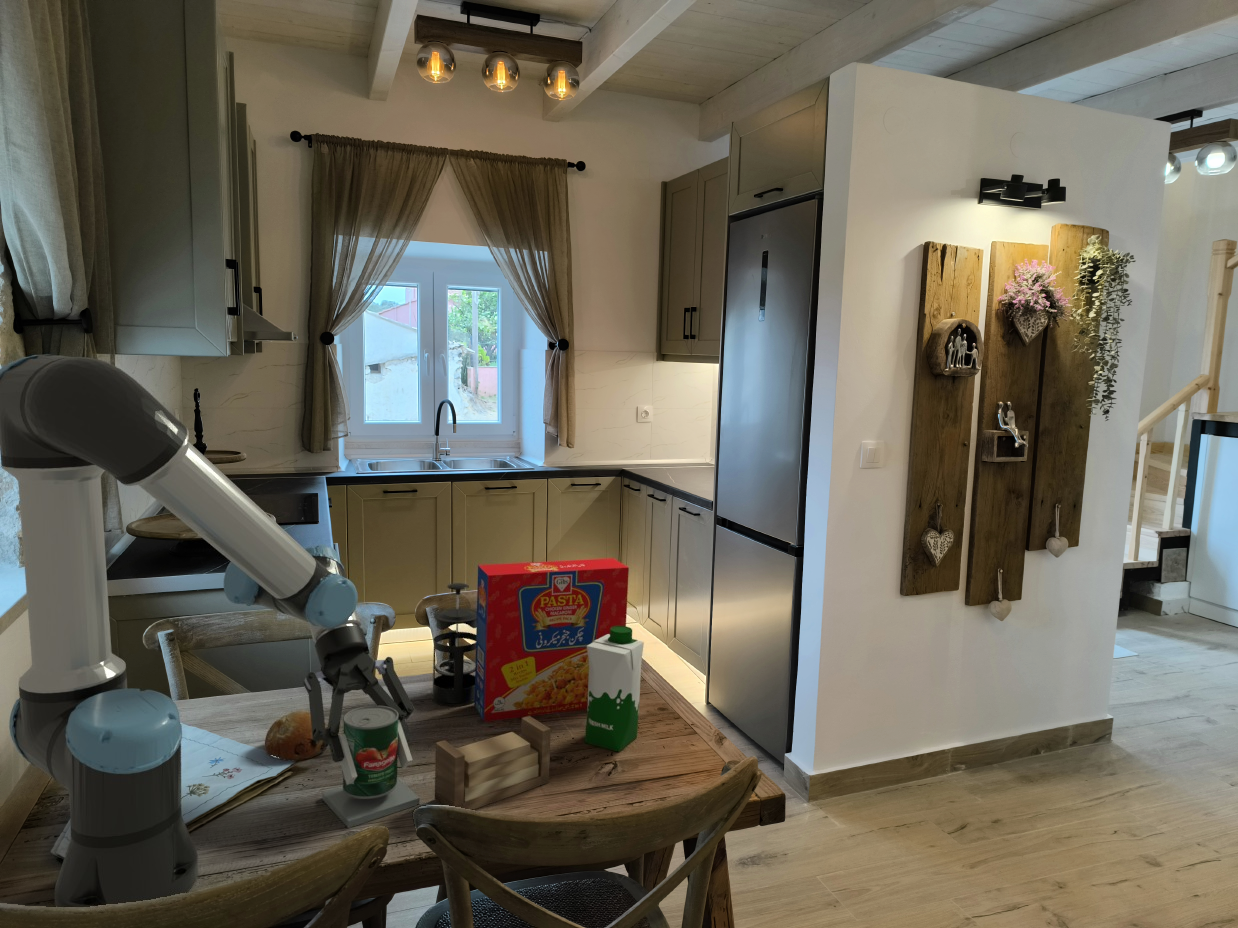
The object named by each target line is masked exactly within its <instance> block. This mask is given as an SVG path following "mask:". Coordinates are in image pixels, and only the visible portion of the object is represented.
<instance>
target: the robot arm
mask: <svg viewBox="0 0 1238 928" xmlns="http://www.w3.org/2000/svg"><path fill="white" fill-rule="evenodd" d="M189 431H190V430H189V429H188V428H187V426H186V425H184V424H183V423H182V422H181V421H180V420H179V419H178V418H177V417H176V416H175V415H173V414H172V412H171V411H170V410H169V409H168V408H166V407H165V406H164V405H163V404H162V403H161V402H160V401H159V400H158V399H157V398H156V397H155V396H154V395H153V394H151V393H150V392H149V391H148V390H147V389H146V388H145V387H144V386H143V385H141V384H140V383H139V382H138V381H137V380H136V379H134V378H133V377H132V376H130V375H129V373H126V372H125V371H124V370H122V369H121V368H119V367H118V366H116V365H113V364H111V363H109V362H107V361H105V360H102V359H97V358H94V357H86V356H85V357H84V356H83V357H82V356H74V357H73V356H66V355H57V354H48V353H46V354H34V355H31V356H25V357H20V358H18V359H15V360H13V361H11V362H9V363H7V364H5V365H3V367H1V368H0V465H1V469H2V470H4V471H5V472H7V473H8V474H9V475H11V476H12V477H13V478H15V479H16V480H17V483H18V497H19V500H18V501H19V511H20V525H21V539H22V549H23V562H24V563H23V564H24V565H23V566H24V575H25V590H26V602H27V603H26V604H27V615H28V616H27V617H28V626H29V627H28V629H29V639H30V643H29V644H30V653H31V654H30V656H31V666H30V667H29V668H28V669H27V670H26V671H25V672H24V673H23V674H22V675H21V676H20V677H19V680H18V694H19V698H18V699H16V701H15V702H14V704H13V706H12V709H11V712H10V716H9V721H8V722H9V723H8V724H9V725H8V727H9V733H10V737H11V740H12V742H13V744H14V746H15V748H16V750H17V751H18V753H19V754H21V756H22V757H23V758H24V759H25V760H26V761H27V762H29V763H30V764H32V765H33V766H34V767H37V768H39V769H40V770H41V771H42V772H43V773H45V774H46V775H48V776H49V777H50V778H52V779H53V780H54V781H56V782H57V783H58V784H60V785H61V786H62V787H63V788H64V789H66V790H67V791H68V796H69V818H70V819H69V821H70V841H69V845H68V847H67V851H66V853H65V856H64V858H63V862H62V864H61V868H60V871H59V872H58V876H57V880H56V882H55V887H54V907H55V906H57V907H90V906H98V905H106V904H118V903H126V902H136V901H143V900H151V899H156V898H160V897H167V896H171V895H175V894H180V893H185V892H187V893H188V892H189V891H190V890H191V888H193V886H194V884H195V883H196V880H198V879H197V878H198V875H199V855H198V852H197V848H196V846H195V843H194V841H193V838H192V836H191V835H190V832H189V830H188V827H187V825H186V823H185V820H184V818H183V816H182V813H183V812H182V738H183V728H182V727H183V726H182V724H181V720H180V711H179V708H178V706H177V704H176V703H175V701H173V699H172V698H171V697H169V696H168V695H166V694H164V693H162V692H159V691H156V690H152V689H145V690H141V689H140V688H128V679H127V678H128V675H127V664H126V662H125V660H123V659H122V658H120V657H119V656H117V655H116V654H114V653H113V652H112V643H111V639H112V638H111V626H110V609H109V608H110V607H109V593H108V577H107V560H106V545H105V544H106V543H105V541H106V540H105V530H104V529H105V528H104V512H103V511H104V510H103V496H102V493H103V492H102V478H101V477H102V475H103V473H105V472H106V473H108V474H110V475H111V476H113V478H115V479H116V480H117V481H118V482H119V483H121V484H122V485H124V486H127V487H128V486H129V487H131V486H134V487H135V486H138V487H140V488H141V489H142V490H144V491H145V492H146V493H147V494H149V495H150V496H151V497H152V498H153V499H155V500H156V501H157V502H158V503H160V504H161V505H162V506H163V507H165V509H167V511H169V512H171V513H172V514H173V515H174V516H176V518H177V519H179V520H180V521H181V522H182V523H184V524H185V525H186V526H187V527H188V528H190V529H191V530H192V531H193V532H195V533H196V535H198V536H200V537H201V538H202V539H203V540H204V541H206V542H207V543H208V544H210V546H212V547H213V548H214V549H215V550H217V551H218V552H219V553H220V554H221V555H222V556H224V557H225V558H226V559H227V560H229V561H230V562H228V563H229V564H228V565H227V567H226V569H225V571H224V576H223V577H224V578H223V591H224V594H225V596H226V598H227V600H228V601H229V602H230V603H232V604H236V605H245V606H247V607H251V606H260V607H265V608H268V609H270V610H273V611H276V612H279V613H280V614H284V615H288V616H291V617H293V618H296V619H298V620H301V621H303V622H306V623H308V627H309V630H310V633H311V637H312V640H313V642H314V643H315V644H314V647H315V651H316V655H317V659H318V662H319V665H320V671H317V672H308V674H307V675H306V676H305V679H304V681H303V686H304V688H305V690H306V692H307V695H308V702H309V712H310V715H311V726H312V737H313V740H314V741H316V742H318V741H320V740H321V741H325V743H326V744H327V745H328V747H329V750H330V754H331V757H332V761H333V762H334V763H339V764H340V767H341V770H342V774H343V773H344V777H345V780H346V784H347V785H348V784H351V783H353V781H354V780H355V779H356V777H357V773H356V770H355V766H354V763H353V759H352V756H351V753H350V749H349V746H348V742H347V739H346V735H345V734H344V733H342V734H339V733H340V728H341V720H342V713H343V705H344V698H345V694H346V693H349V692H351V691H360V690H361V691H362V692H363V693H364V694H365V695H368V697H370V699H371V700H372V701H373V702H374V703H375V705H376V706H386V707H390V708H393V709H395V710H396V711H397V712H398V715H399V716H398V758H397V759H398V760H399V764H400V766H401V769H405V768H407V767H408V766H409V765H410V764H411V763H412V761H413V757H412V754H411V751H410V748H409V744H408V743H409V741H410V740H411V733H410V730H409V727H408V725H407V722H406V720H407V719H409V718H410V716H411V715H412V713H413V712H414V711H415V706H414V704H413V702H412V701H411V699H410V697H409V695H408V694H407V691H406V690H405V688H404V686H403V684H402V682H401V680H400V679H399V676H398V675H397V673H396V671H395V666H394V660H393V658H392V657H391V656H387V657H386V658H385V659H377V660H376V659H375V658H374V657H373V656H372V654H371V652H370V649H369V645H368V642H367V638H366V636H365V633H364V630H363V628H362V623H361V620H360V616H359V614H358V610H357V607H358V606H357V605H358V601H359V600H358V599H359V597H358V596H359V595H358V591H357V588H356V585H355V584H354V582H352V581H351V580H350V579H349V578H347V577H346V572H345V567H344V565H343V564H342V562H341V560H340V557H339V555H338V552H337V551H336V549H334V548H333V547H332V546H330V545H325V544H324V545H323V544H318V545H316V546H308V547H305V548H304V547H303V546H302V545H300V543H299V542H297V540H295V539H294V538H293V537H292V536H291V535H290V534H289V533H288V532H287V531H286V530H285V529H283V528H282V527H281V526H280V525H279V524H278V523H277V522H276V521H275V520H274V519H273V518H271V516H269V515H268V513H267V512H265V511H264V510H263V509H262V508H261V507H260V506H259V505H258V504H256V503H255V501H253V500H252V499H251V498H250V497H249V496H248V495H247V494H246V493H245V492H243V491H242V490H241V489H240V488H239V487H238V486H237V484H235V483H234V482H233V481H232V480H230V478H228V476H226V475H225V474H224V473H223V472H222V471H221V470H220V469H219V468H218V467H217V466H216V465H215V464H213V462H211V461H210V460H209V459H208V458H207V457H206V456H205V455H204V454H203V453H202V452H200V451H199V450H198V449H197V448H196V447H195V446H194V445H193V444H192V443H191V442H190V441H189V438H190V437H189V436H190V432H189ZM374 669H376V670H377V672H378V675H380V676H381V678H382V680H383V682H384V685H385V686H386V689H387V691H388V692H389V693H388V692H387V691H386V690H385V689H384V687H383V686H382V685H381V684H380V683H379V679H378V678H377V677H376V676H375V674H374V673H373V672H374ZM323 681H324V682H326V683H327V684H328V685H329V686H330V687H332V693H331V702H330V703H331V704H330V709H329V716H328V724H327V727H328V728H327V729H325V724H326V723H325V722H326V721H325V713H324V704H323V693H322V692H323V691H322V684H323Z"/></svg>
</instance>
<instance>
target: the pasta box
mask: <svg viewBox="0 0 1238 928" xmlns="http://www.w3.org/2000/svg"><path fill="white" fill-rule="evenodd" d="M629 569H630V567H629V566H627V565H626V564H624V563H622V562H620V561H618V560H617V559H615V558H611V557H610V558H594V559H593V558H592V559H577V560H576V559H574V560H571V559H570V560H554V561H553V560H552V561H551V560H550V561H534V562H518V563H517V562H516V563H497V564H496V563H495V564H479V565H477V587H476V588H477V594H476V611H477V625H476V628H475V629H476V630H475V631H476V633H475V635H476V641H475V642H476V649H475V672H474V674H475V675H474V676H475V701H474V703H473V705H474V708H475V709H476V711H477V712H478V714H479V715H480V717H481V719H482V721H483V723H485V722H486V723H487V722H493V721H495V722H496V721H502V720H511V719H518V718H519V719H520V718H524V717H527V716H530V717H534V716H542V715H548V714H549V715H550V714H559V713H564V712H573V711H582V710H587V704H588V680H589V659H588V652H587V645H589V644H591V643H593V641H595V640H597V639H599V638H601V637H603V636H605V635H607V634H610V628H611V627H614V626H626V627H627V615H628V613H627V612H628V593H629V592H628V591H629V573H630V572H629V571H630V570H629Z"/></svg>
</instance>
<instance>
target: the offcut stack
mask: <svg viewBox="0 0 1238 928" xmlns="http://www.w3.org/2000/svg"><path fill="white" fill-rule="evenodd" d="M455 748H456V747H455ZM456 749H457V750H459V751H460V752H461V753H463V754H464V755H465V764H464V802H466V801H469V800H472V799H475V798H477V797H480V796H483V795H486V794H489V793H492V792H495V791H498V790H500V789H503V788H506V787H509V786H512V785H515V784H518V783H521V782H524V781H526V780H529V779H532V778H535V777H538V768H539V764H538V752H537V751H535V750H534V749H532V748H531V747H530V743H528V742H527V741H525V740H524V739H522V738H521V736H520V735H518V734H516V733H515V732H514V731H511V732H507V733H504V734H500V735H496V736H494V737H490V738H486V739H484V740H480V741H476V742H473V743H469V744H467V745H463V746H460V747H457V748H456Z"/></svg>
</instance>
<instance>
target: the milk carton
mask: <svg viewBox="0 0 1238 928" xmlns="http://www.w3.org/2000/svg"><path fill="white" fill-rule="evenodd" d="M644 643H645V641H642V640H638V639H634V638H633V628H631V627H629V626H627V625H626V626H614V627H611V628H610V634H607V635H605V636H603V637H601V638H599V639H597V640H595V641H593V643H591V644H589V645H587V652H588V659H589V680H588V704H587V709H586V712H587V713H586V721H585V722H586V723H585V733H584V735H585V737H584V743H587V744H588V745H593V746H596V747H600V748H603V749H607V750H611V751H614V752H617V751H618V753H620V752H621V751H622V750H624V749H625V748H626V747H627V746H628V745H630V744H631V743H632V742H633V741H634V740H635V739H637V738H638V725H639V711H640V693H641V671H642V660H643V653H644V646H645V645H644ZM631 741H632V742H631Z"/></svg>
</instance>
